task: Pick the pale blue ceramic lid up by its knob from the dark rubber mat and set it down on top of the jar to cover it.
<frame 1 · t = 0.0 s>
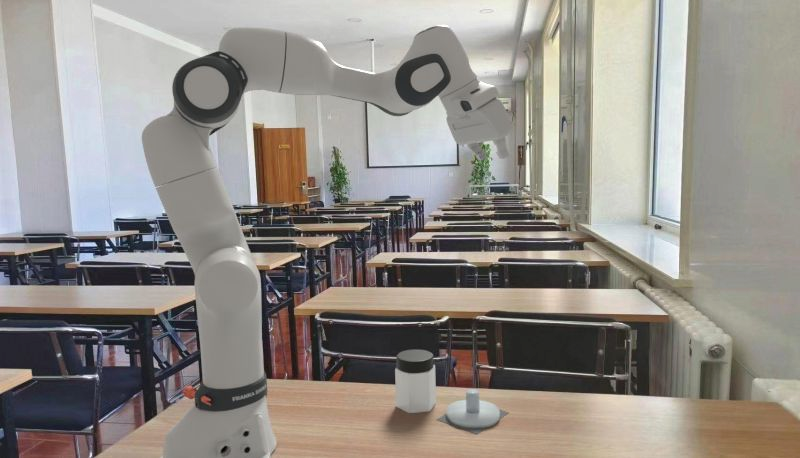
hand: (493, 158, 114), 54 cm above the table, tool tilted 30°, fingers open, 8 cm apart
mat: (473, 419, 110), on the table
jar: (416, 408, 117), on the table
lid: (472, 416, 110), point 1 cm above the table, touching mat
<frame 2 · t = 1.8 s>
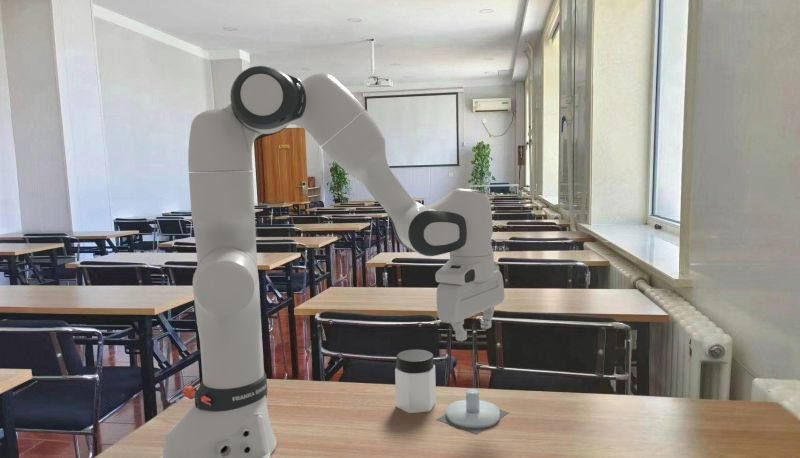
hand: (474, 333, 109), 18 cm above the table, tool pointing down, fingers open, 8 cm apart
nothing on the table moved.
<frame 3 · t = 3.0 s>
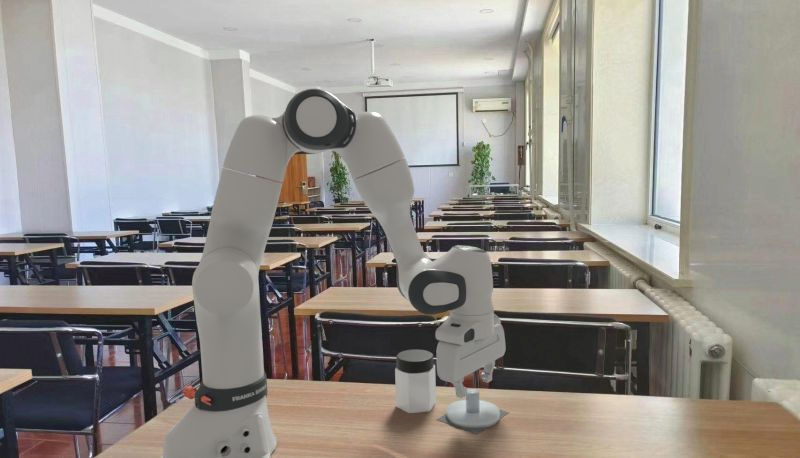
hand: (474, 388, 110), 7 cm above the table, tool pointing down, fingers open, 8 cm apart
nothing on the table moved.
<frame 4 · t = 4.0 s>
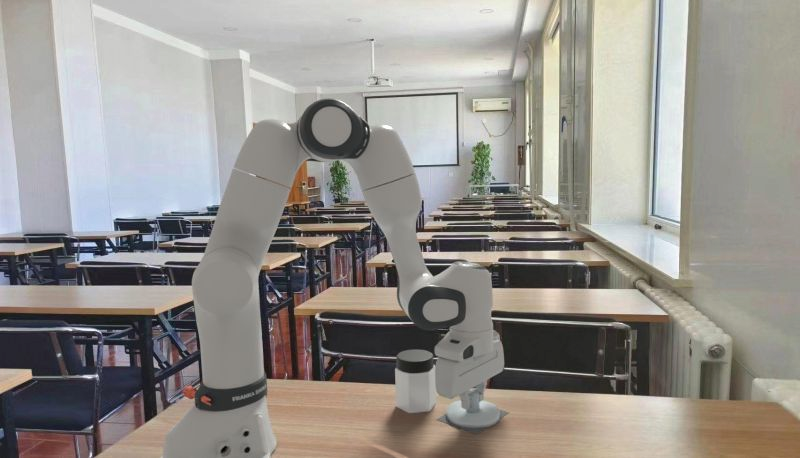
hand: (472, 404, 110), 3 cm above the table, tool pointing down, fingers closed on lid, 3 cm apart
lid: (472, 415, 110), point 1 cm above the table, touching gripper, mat
everything else where it was.
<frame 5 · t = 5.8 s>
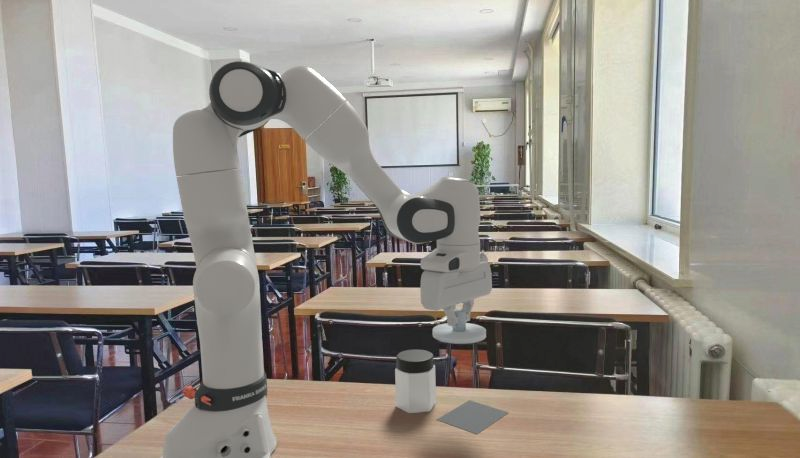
hand: (458, 323, 109), 20 cm above the table, tool pointing down, fingers closed on lid, 3 cm apart
lid: (459, 335, 110), point 18 cm above the table, touching gripper
everything else where it was.
when the fingers open (16 cm above the table, at t = 7.6 s): lid drops 2 cm, resting on jar.
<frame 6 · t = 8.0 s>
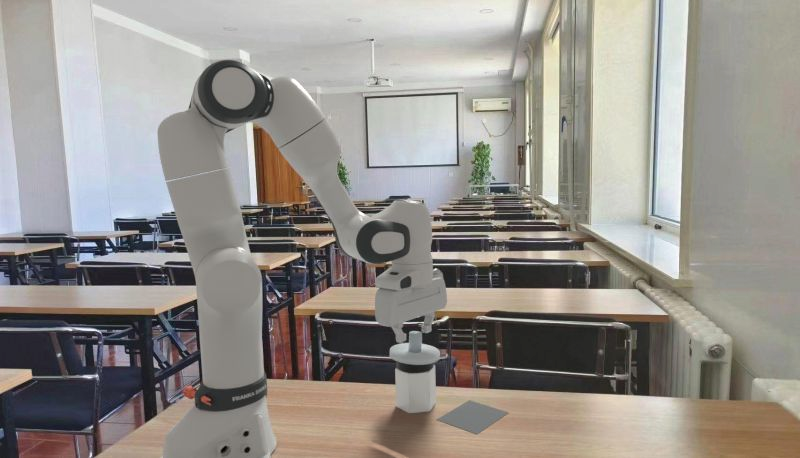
hand: (414, 336, 115), 16 cm above the table, tool pointing down, fingers open, 7 cm apart
jar: (416, 408, 117), on the table, touching lid
lid: (414, 356, 116), point 12 cm above the table, touching jar
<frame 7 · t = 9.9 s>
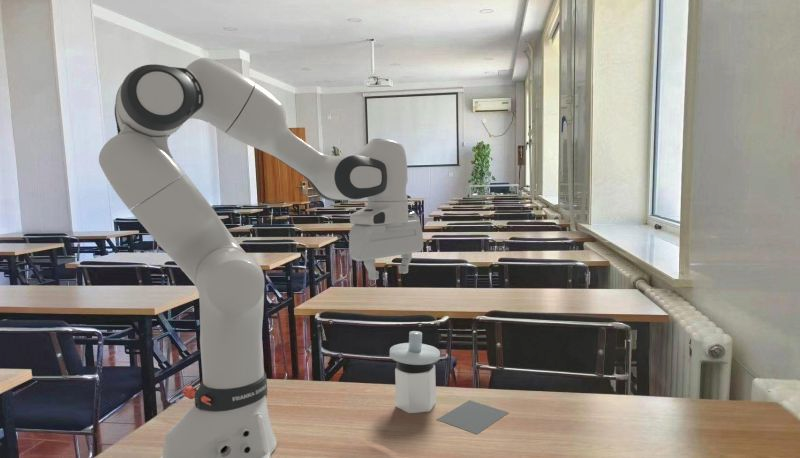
hand: (388, 276, 117), 29 cm above the table, tool pointing down, fingers open, 8 cm apart
nothing on the table moved.
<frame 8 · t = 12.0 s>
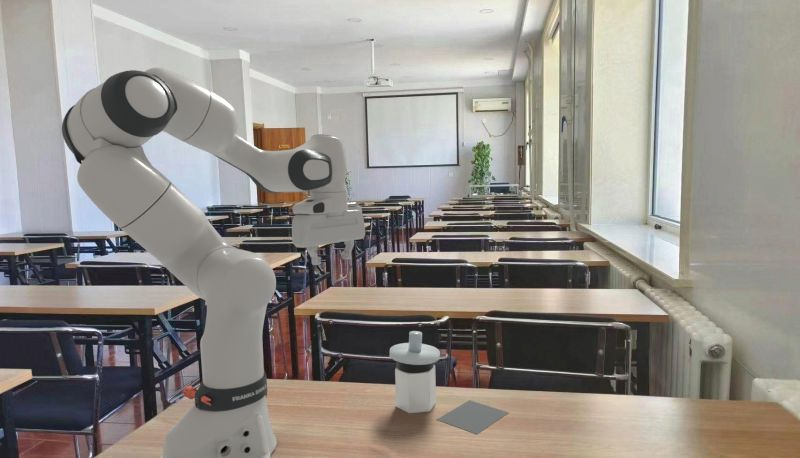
hand: (331, 261, 127), 31 cm above the table, tool pointing down, fingers open, 8 cm apart
nothing on the table moved.
at the end: lid 0.1 cm off-centre on the jar, point 12.0 cm above the jar's base; lid tilted 4°; the gripper is holding nothing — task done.
